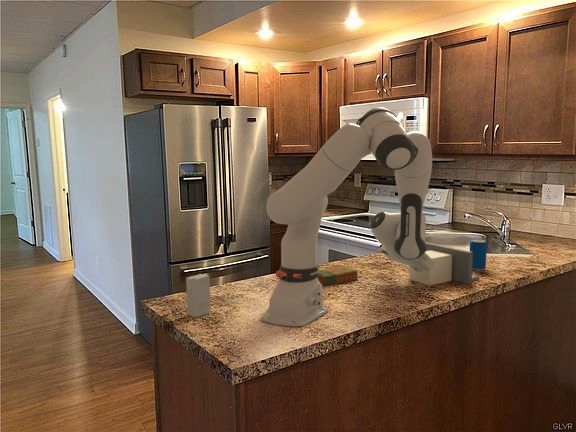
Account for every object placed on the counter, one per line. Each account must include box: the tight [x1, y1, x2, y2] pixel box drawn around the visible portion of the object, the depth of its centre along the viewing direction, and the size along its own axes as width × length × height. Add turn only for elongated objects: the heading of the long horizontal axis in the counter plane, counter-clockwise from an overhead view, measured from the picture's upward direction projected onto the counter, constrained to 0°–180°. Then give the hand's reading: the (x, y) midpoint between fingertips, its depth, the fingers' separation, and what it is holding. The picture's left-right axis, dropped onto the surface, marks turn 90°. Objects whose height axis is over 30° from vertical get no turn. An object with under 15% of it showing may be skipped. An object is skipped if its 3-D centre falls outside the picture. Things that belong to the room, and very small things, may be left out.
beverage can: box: [469, 238, 488, 271], centre depth 192 cm, size 6×6×12 cm
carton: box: [317, 265, 358, 287], centre depth 179 cm, size 8×16×4 cm, turn 121°
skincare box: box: [185, 273, 212, 318], centre depth 143 cm, size 6×4×12 cm
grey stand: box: [425, 241, 480, 285], centre depth 183 cm, size 9×24×12 cm, turn 31°
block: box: [408, 250, 453, 286], centre depth 177 cm, size 12×10×10 cm
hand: (418, 269), depth 174 cm, fingers closed, pressing on block
